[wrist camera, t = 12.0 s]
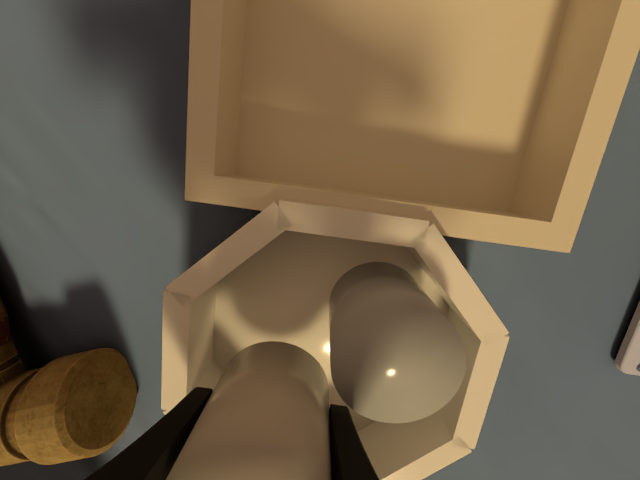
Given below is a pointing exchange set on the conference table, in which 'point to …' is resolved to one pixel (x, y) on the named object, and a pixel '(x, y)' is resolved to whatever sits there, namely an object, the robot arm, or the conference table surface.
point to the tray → (410, 108)
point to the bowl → (313, 317)
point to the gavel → (62, 404)
